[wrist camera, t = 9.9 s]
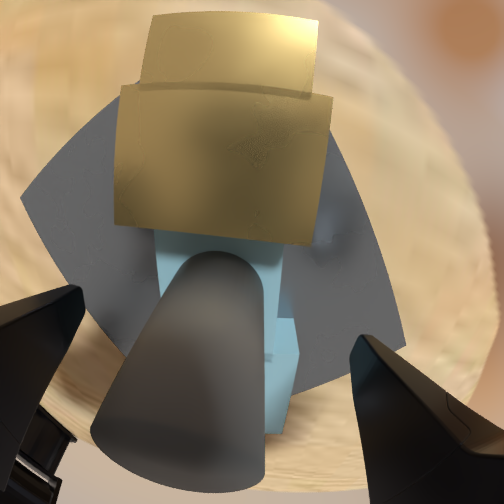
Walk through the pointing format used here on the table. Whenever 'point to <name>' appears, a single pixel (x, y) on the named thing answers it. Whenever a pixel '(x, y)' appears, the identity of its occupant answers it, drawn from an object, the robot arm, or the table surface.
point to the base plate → (131, 264)
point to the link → (204, 368)
